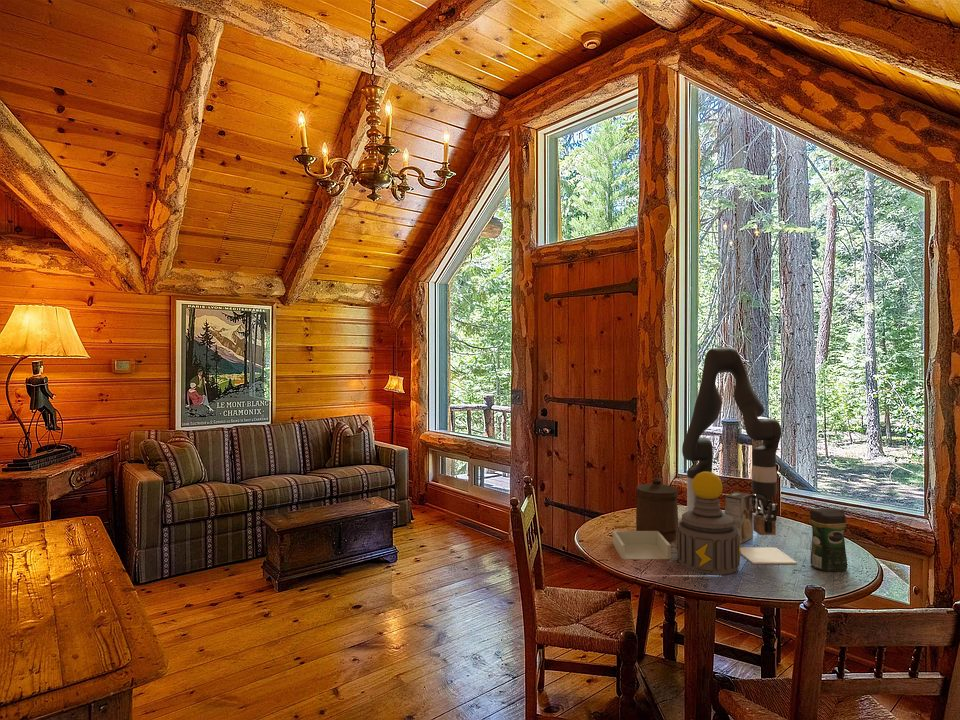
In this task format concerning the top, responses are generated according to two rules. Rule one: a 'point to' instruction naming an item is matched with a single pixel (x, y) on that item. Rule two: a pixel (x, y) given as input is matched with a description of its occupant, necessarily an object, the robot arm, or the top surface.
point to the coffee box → (740, 513)
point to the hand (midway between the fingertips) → (764, 529)
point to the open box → (641, 545)
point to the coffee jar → (828, 539)
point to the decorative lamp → (708, 531)
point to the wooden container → (657, 509)
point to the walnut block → (762, 525)
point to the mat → (766, 556)
